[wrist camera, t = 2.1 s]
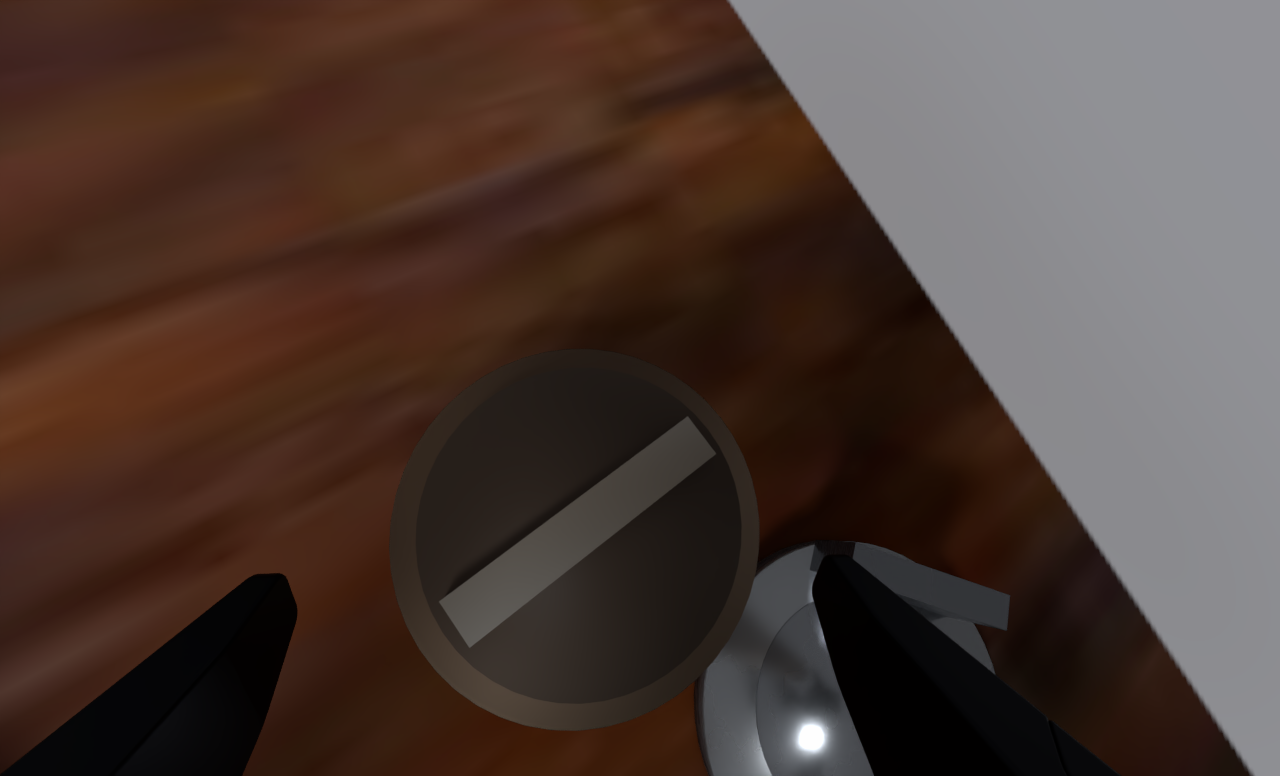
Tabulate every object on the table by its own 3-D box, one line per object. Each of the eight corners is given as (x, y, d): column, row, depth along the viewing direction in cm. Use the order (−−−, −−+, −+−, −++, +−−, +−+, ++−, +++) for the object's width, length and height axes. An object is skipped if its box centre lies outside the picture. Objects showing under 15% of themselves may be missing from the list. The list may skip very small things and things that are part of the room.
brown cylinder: (664, 538, 18) (853, 560, 7) (547, 634, 16) (533, 866, 5) (582, 425, 18) (628, 269, 7) (462, 509, 17) (286, 479, 6)
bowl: (955, 916, 16) (1063, 1022, 13) (654, 828, 15) (683, 914, 12) (989, 589, 19) (1085, 603, 16) (737, 502, 18) (780, 497, 15)
